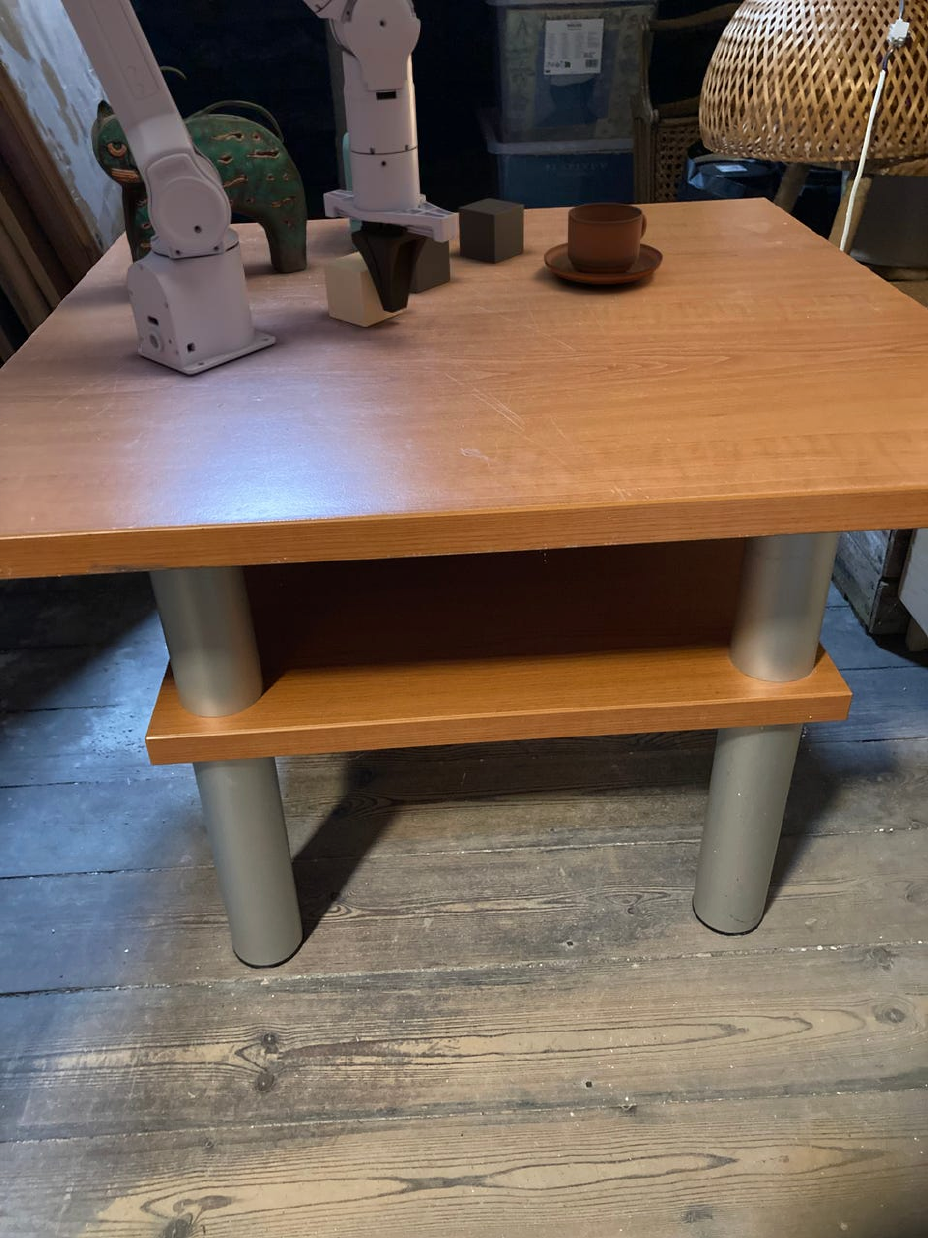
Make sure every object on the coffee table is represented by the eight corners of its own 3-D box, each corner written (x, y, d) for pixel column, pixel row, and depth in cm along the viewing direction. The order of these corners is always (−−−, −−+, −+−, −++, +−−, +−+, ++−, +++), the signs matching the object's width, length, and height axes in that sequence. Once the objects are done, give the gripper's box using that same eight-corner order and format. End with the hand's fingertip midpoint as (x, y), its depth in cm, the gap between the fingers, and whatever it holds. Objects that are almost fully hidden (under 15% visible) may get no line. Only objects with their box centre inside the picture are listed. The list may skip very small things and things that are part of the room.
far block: (494, 263, 103) (494, 214, 100) (459, 255, 106) (458, 207, 103) (523, 252, 106) (524, 204, 103) (489, 244, 109) (488, 197, 106)
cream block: (365, 327, 89) (360, 272, 86) (329, 316, 92) (322, 262, 89) (403, 312, 92) (399, 258, 89) (367, 302, 94) (361, 249, 91)
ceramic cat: (135, 308, 95) (81, 77, 83) (118, 290, 100) (65, 70, 88) (320, 271, 103) (295, 55, 91) (296, 256, 107) (269, 49, 95)
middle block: (417, 293, 96) (414, 241, 93) (382, 283, 99) (378, 233, 96) (450, 280, 99) (449, 229, 96) (415, 271, 102) (413, 221, 99)
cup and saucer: (574, 251, 106) (576, 192, 102) (678, 266, 101) (684, 204, 97) (523, 283, 98) (523, 220, 94) (633, 301, 92) (638, 234, 89)
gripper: (480, 148, 79) (483, 312, 87) (358, 130, 87) (371, 282, 95) (420, 164, 75) (429, 335, 83) (298, 143, 83) (317, 301, 91)
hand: (395, 308), depth 89 cm, fingers closed
